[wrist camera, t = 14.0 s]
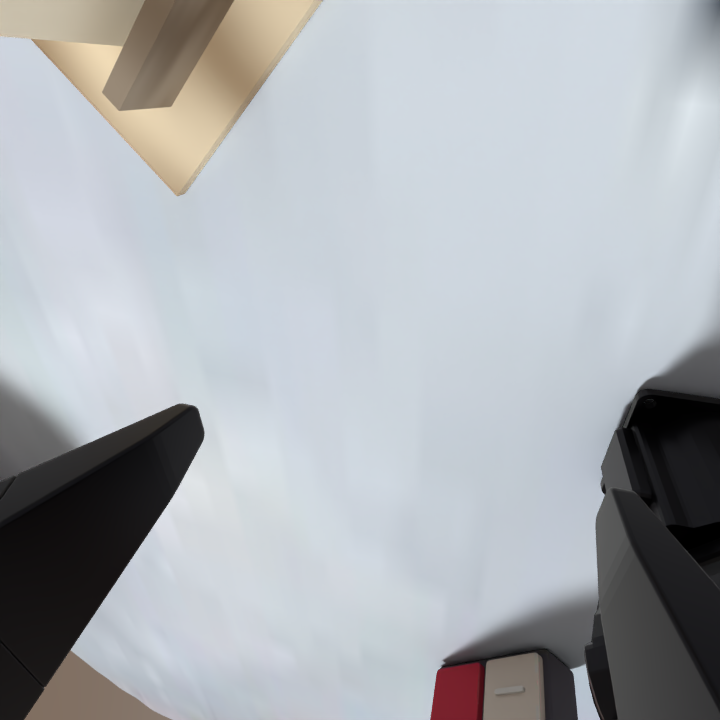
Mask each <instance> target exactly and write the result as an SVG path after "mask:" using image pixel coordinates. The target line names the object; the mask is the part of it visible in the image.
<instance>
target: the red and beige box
mask: <svg viewBox="0 0 720 720" xmlns="http://www.w3.org/2000/svg"><path fill="white" fill-rule="evenodd" d="M430 720H578V717H577V706H576V696H575V685H574V676H573V673H572V671H571V670H570V669H569V668H567V667H566V666H565V665H564V664H563V663H562V662H561V661H559V660H558V659H557V658H556V657H555V656H554V655H552V654H551V653H550V652H549V651H548V650H546V649H542V650H536V651H531V652H525V653H520V654H514V655H508V656H503V657H497V658H491V659H486V660H480V661H475V662H469V663H463V664H458V665H452V666H446V667H442V668H440V669H439V670H438V671H437V675H436V683H435V690H434V697H433V705H432V712H431V719H430Z"/></svg>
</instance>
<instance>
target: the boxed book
mask: <svg viewBox="0 0 720 720" xmlns="http://www.w3.org/2000/svg"><path fill="white" fill-rule="evenodd" d="M144 1H145V0H0V36H3V37H15V38H27V39H39V40H52V41H64V42H76V43H88V44H100V45H112V46H124V44H125V42H126V40H127V38H128V35H129V33H130V31H131V29H132V27H133V25H134V23H135V20H136V18H137V16H138V14H139V12H140V10H141V8H142V6H143V3H144Z"/></svg>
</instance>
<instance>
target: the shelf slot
mask: <svg viewBox="0 0 720 720" xmlns="http://www.w3.org/2000/svg"><path fill="white" fill-rule="evenodd" d="M322 1H323V0H145V1H144V3H143V6H142V8H141V10H140V12H139V14H138V16H137V18H136V20H135V23H134V25H133V27H132V29H131V31H130V33H129V35H128V38H127V40H126V42H125V44H124V46H112V45H100V44H88V43H76V42H64V41H52V40H39V39H31V40H32V41H33V42H34V43H35V44H36V45H37V46H38V47H39V48H40V49H41V50H42V52H43V53H44V54H45V55H46V56H47V57H48V58H49V59H50V60H51V61H52V62H53V63H54V64H55V66H56V67H57V68H58V69H59V70H60V71H61V72H62V73H63V74H64V75H65V76H66V77H67V78H68V80H69V81H70V82H71V83H72V84H73V85H74V86H75V87H76V88H77V89H78V90H79V91H80V92H81V94H82V95H83V96H84V97H85V98H86V99H87V100H88V101H89V102H90V103H91V104H92V105H93V106H94V108H95V109H96V110H97V111H98V112H99V113H100V114H101V115H102V116H103V117H104V118H105V119H106V120H107V121H108V123H109V124H110V125H111V126H112V127H113V128H114V129H115V130H116V131H117V132H118V133H119V134H120V135H121V137H122V138H123V139H124V140H125V141H126V142H127V143H128V144H129V145H130V146H131V147H132V148H133V149H134V151H135V152H136V153H137V154H138V155H139V156H140V157H141V158H142V159H143V160H144V161H145V162H146V163H147V165H148V166H149V167H150V168H151V169H152V170H153V171H154V172H155V173H156V174H157V175H158V176H159V177H160V179H161V180H162V181H163V182H164V183H165V184H166V185H167V186H168V187H169V188H170V189H171V190H172V191H173V193H174V194H175V195H176V196H179V195H182V194H185V193H186V191H187V190H188V188H189V187H190V186H191V184H192V183H193V181H194V180H195V179H196V177H197V176H198V174H199V173H200V172H201V170H202V169H203V167H204V166H205V165H206V163H207V162H208V160H209V159H210V158H211V156H212V155H213V153H214V152H215V151H216V149H217V148H218V146H219V145H220V144H221V142H222V141H223V139H224V138H225V137H226V135H227V134H228V132H229V131H230V130H231V128H232V127H233V125H234V124H235V123H236V121H237V120H238V118H239V117H240V116H241V114H242V113H243V111H244V110H245V109H246V107H247V106H248V104H249V103H250V102H251V100H252V99H253V97H254V96H255V95H256V93H257V92H258V90H259V89H260V88H261V86H262V85H263V83H264V82H265V81H266V79H267V78H268V76H269V75H270V74H271V72H272V71H273V69H274V68H275V67H276V65H277V64H278V62H279V61H280V60H281V58H282V57H283V55H284V54H285V53H286V51H287V50H288V48H289V47H290V46H291V44H292V43H293V41H294V40H295V39H296V37H297V36H298V34H299V33H300V32H301V30H302V29H303V27H304V26H305V25H306V23H307V22H308V20H309V19H310V18H311V16H312V15H313V13H314V12H315V11H316V9H317V8H318V6H319V5H320V4H321V2H322Z"/></svg>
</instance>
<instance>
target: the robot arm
mask: <svg viewBox="0 0 720 720" xmlns="http://www.w3.org/2000/svg"><path fill="white" fill-rule="evenodd" d="M648 399H653V401H652V402H650V403H644V401H645V400H648ZM203 439H204V428H203V425H202V421H201V417H200V414H199V411H198V409H197V408H196V407H195V406H193V405H188V404H177V405H175V406H172V407H170V408H168V409H165V410H163V411H161V412H159V413H156V414H154V415H152V416H150V417H147V418H145V419H143V420H140V421H138V422H136V423H134V424H131V425H129V426H127V427H124V428H122V429H120V430H118V431H115V432H113V433H111V434H108V435H106V436H104V437H102V438H99V439H97V440H95V441H93V442H90V443H88V444H86V445H83V446H81V447H79V448H77V449H74V450H72V451H70V452H67V453H65V454H63V455H61V456H58V457H56V458H54V459H51V460H49V461H47V462H45V463H42V464H40V465H38V466H36V467H33V468H31V469H29V470H26V471H24V472H22V473H20V474H18V475H17V476H12V477H10V478H8V479H6V480H3V481H1V482H0V720H24V719H25V718H26V716H27V715H28V713H29V712H30V710H31V709H32V707H33V705H34V704H35V703H36V701H37V700H38V698H39V697H40V695H41V694H42V692H43V691H44V687H46V686H47V684H48V683H49V681H50V680H51V678H52V677H53V675H54V674H55V672H56V670H57V669H58V668H59V666H60V665H61V663H62V662H63V660H64V659H65V657H66V656H67V654H68V653H69V651H70V650H71V648H72V647H73V645H74V644H75V642H76V641H77V639H78V638H79V636H80V635H81V633H82V632H83V630H84V629H85V628H86V626H87V625H88V623H89V622H90V620H91V619H92V617H93V616H94V614H95V613H96V611H97V610H98V608H99V607H100V605H101V604H102V602H103V601H104V599H105V598H106V596H107V595H108V593H109V592H110V590H111V589H112V587H113V586H114V584H115V583H116V581H117V580H118V578H119V577H120V575H121V574H122V572H123V571H124V569H125V568H126V566H127V565H128V563H129V562H130V560H131V559H132V557H133V556H134V554H135V553H136V551H137V550H138V548H139V547H140V545H141V544H142V542H143V541H144V539H145V538H146V536H147V535H148V533H149V532H150V530H151V529H152V527H153V526H154V524H155V523H156V521H157V520H158V518H159V517H160V515H161V514H162V512H163V511H164V509H165V508H166V506H167V505H168V503H169V502H170V500H171V499H172V497H173V496H174V494H175V492H176V490H177V489H178V487H179V485H180V483H181V481H182V479H183V478H184V476H185V474H186V472H187V470H188V468H189V466H190V464H191V463H192V461H193V459H194V457H195V455H196V453H197V451H198V450H199V448H200V446H201V444H202V442H203ZM601 470H602V474H603V478H602V480H601V489H602V492H603V493H604V494H605V497H604V499H603V502H602V504H601V506H600V509H599V511H598V514H597V517H596V547H597V569H598V591H599V601H598V607H597V612H596V614H595V615H594V625H593V634H592V641H591V643H588V644H586V646H585V654H584V656H585V662H586V668H587V673H588V679H589V686H590V690H591V693H592V697H593V701H594V704H595V707H596V709H597V712H598V715H599V717H600V720H720V399H716V398H709V397H702V396H695V395H688V394H681V393H673V392H666V391H659V390H652V389H646V390H642V391H640V392H639V393H637V394H636V396H635V398H634V400H633V403H632V405H631V408H630V410H629V413H628V415H627V418H626V420H625V423H624V425H623V427H620V428H618V429H617V430H615V432H614V435H613V437H612V440H611V442H610V445H609V448H608V450H607V453H606V455H605V458H604V460H603V463H602V466H601Z"/></svg>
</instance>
